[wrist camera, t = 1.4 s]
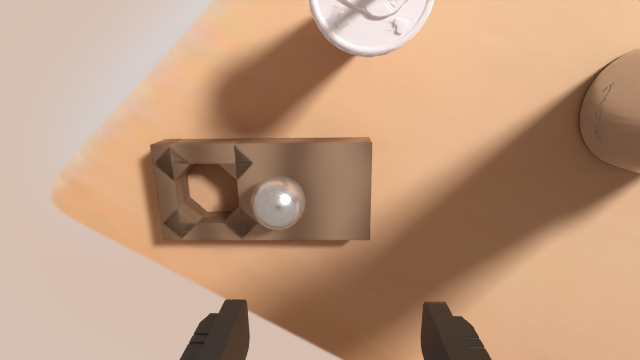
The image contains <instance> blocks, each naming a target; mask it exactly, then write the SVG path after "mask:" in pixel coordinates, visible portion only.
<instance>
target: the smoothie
mask: <svg viewBox="0 0 640 360" xmlns="http://www.w3.org/2000/svg"><path fill="white" fill-rule="evenodd" d="M433 3H434V0H309V4H310V11H311V13H312V16H313V18H314V21H315V23H316V25H317V27H318V29H319V30H320V31H321V33H322V34H323V35H324V37H325V38H326V39H327V40H328V41H329V42H330V43H332V44H333V45H334V46H336V47H337V48H338V49H339V50H342V51H344V52H347V53H349V54H351V55H354V56H363V57H374V56H380V55H385V54H387V53H390V52H392V51H394V50H396V49H398V48H400V47H401V46H403V45H404V44H405V43H406V42H408V41H409V40H410V39H411V38H413V36H414V35H415V34H416V33H417V32H418V31H419V30H420V29H421V27H422V26H423V25H424V23H425V21H426V20H427V18H428V16H429V14H430V12H431V9H432V7H433Z"/></svg>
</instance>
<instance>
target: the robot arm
mask: <svg viewBox="0 0 640 360" xmlns="http://www.w3.org/2000/svg"><path fill="white" fill-rule="evenodd" d="M580 128H581V134H582V137H583V139H584V142H585V144H586V146H587V147H588V148H589V150H590V151H591V152H592V153H593V154H594V155H595V156H596V157H598V158H599V159H600V160H602V161H604V162H607V163H609V164H611V165H614V166H617V167H621V168H624V169H627V170H630V171H633V172H636V173H640V49H637V50H634V51H632V52H630V53H627V54H625V55H623V56H621V57H620V58H618V59H617V60H615V61H614V62H612V63H610V64H609V65H608V66H607V67H606V68H605V69H604V70H603V71H602V72H601V73H600V74H599V75H598V76H597V78H596V79H595V80H594V82H593V83H592V84H591V86H590V88H589V89H588V91H587V93H586V95H585V97H584V100H583V104H582V107H581V112H580ZM248 323H249V322H248V310H247V302H246V300H225V301H224V303H223V305H222V307H221V309H220V311H219V313H210V314H209V315H208V316H207V317H206V318H205V319H203V320H202V321H201V322H200V323H199V325H198V327H197V329H196V331H195V333H194V335H193V336H192V338H191V340H190V342H189V344H188V345H187V347H186V349H185V351H184V353H183V355H182V357H181V358H180V360H245V358H246V356H247V352H248V348H249V337H250V336H249V324H248ZM421 349H422V354H423V357H424V360H491V358H490V356H489V354H488V353H487V351H486V349H484V345H483V344H482V342H481V340H479V336H478V335H477V333H476V331H475V329H474V328H473V326H472V325H471V324H470V323H469V322H467V321H466V320H465V319H464V318H463V317H462V316H452V314H451V312H450V310H449V308H448V306H447V304H446V302H424V304H423V313H422V326H421Z"/></svg>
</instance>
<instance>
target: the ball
mask: <svg viewBox="0 0 640 360" xmlns="http://www.w3.org/2000/svg"><path fill="white" fill-rule="evenodd" d="M251 209H252V213H253V215H254V217H255V218H256V220H257V221H258V222H259V223H260V224H262V225H263V226H265V227H267V228H270V229H274V230H282V229H286V228H289V227H291V226H293V225H294V224H295V223H297V222H298V220H299V219H300V218H301V217H302V215H303V212H304V209H305V195H304V193H303V190H302V188H301V187H300V185H299V184H298V183H297V182H296V181H294V180H293V179H291V178H289V177H286V176H282V175H275V176H270V177H267V178H265V179H264V180H262V181H261V182H260V183H259V184H258V185H257V186H256V187H255V189H254V191H253V193H252V196H251Z"/></svg>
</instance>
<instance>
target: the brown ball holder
mask: <svg viewBox="0 0 640 360" xmlns="http://www.w3.org/2000/svg"><path fill="white" fill-rule="evenodd" d="M150 147H151V154H152V161H153V167H154V174H155V180H156V187H157V193H158V200H159V207H160V213H161V220H162V226H163V233H164V240H370V212H371V172H372V142H371V140H370V138H369V137H361V138H265V139H169V140H162V141H160V142H157V143H154V144H152V145H150ZM194 164H219V165H220V166H221V167H222V168H223V169H224V170H225V171H226V172H228V173H229V174H230V175H231V176H232V177H233V178H234V179H235V180H237V187H238V199H239V205H238V206H237V207H236V208H235V209H234V210H233V211H232V212H207V211H206V210H204V209H203V208H202V207H201V206H200V205H199V204H197V203H196V202H195V201H194V200H193V199H192V198H190V195H189V187H188V179H187V172H188V171H189V170H190V169H191V168H192V167H193V166H194ZM275 175H282V176H286V177H289V178H291V179H293V180H294V181H296V182H297V183H298V184H299V185H300V187H301V188H302V190H303V193H304V195H305V209H304V212H303V215H302V217H301V218H300V219H299V220H298V222H297V223H295V224H294V225H293V226H291V227H289V228H286V229H282V230H274V229H270V228H267V227H265V226H263V225H262V224H260V223H259V222H258V221H257V220H256V218H255V217H254V215H253V213H252V209H251V196H252V193H253V191H254V189H255V187H256V186H257V185H258V184H259V183H260V182H261V181H262V180H264V179H265V178H267V177H270V176H275Z"/></svg>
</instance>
